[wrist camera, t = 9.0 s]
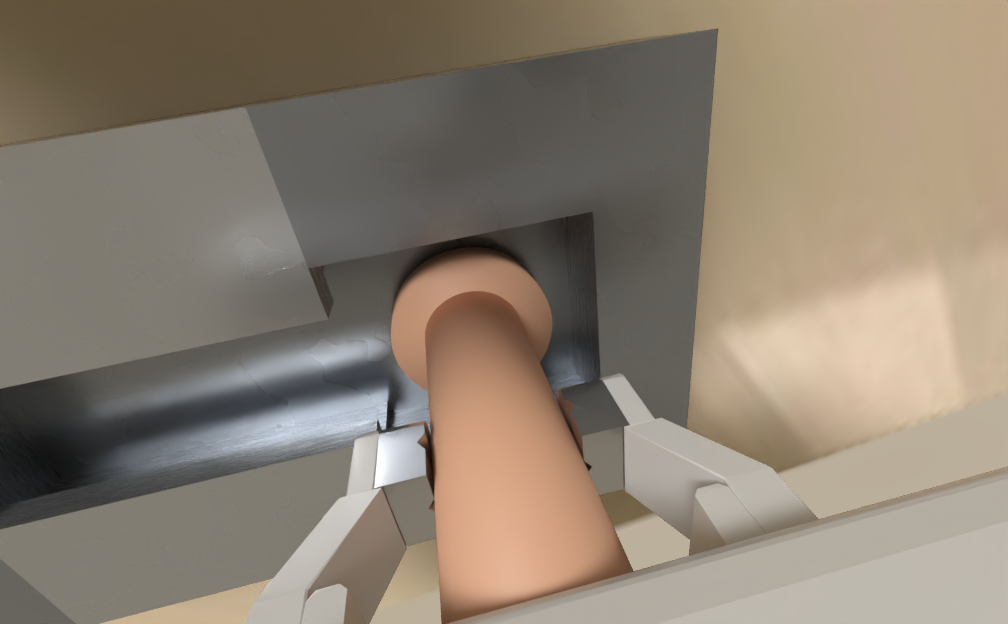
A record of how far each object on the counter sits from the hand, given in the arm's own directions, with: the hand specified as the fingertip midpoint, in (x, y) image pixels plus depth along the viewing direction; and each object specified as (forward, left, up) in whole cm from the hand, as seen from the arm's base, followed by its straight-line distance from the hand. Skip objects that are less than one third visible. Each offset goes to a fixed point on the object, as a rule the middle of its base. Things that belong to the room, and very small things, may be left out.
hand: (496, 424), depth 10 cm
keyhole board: (+5, 0, -6) cm, 8 cm away
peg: (0, 0, -5) cm, 5 cm away
